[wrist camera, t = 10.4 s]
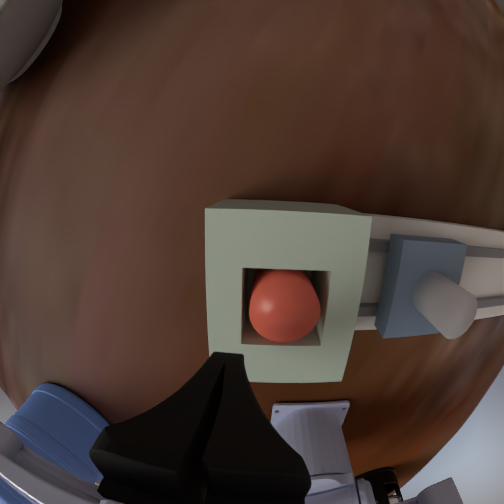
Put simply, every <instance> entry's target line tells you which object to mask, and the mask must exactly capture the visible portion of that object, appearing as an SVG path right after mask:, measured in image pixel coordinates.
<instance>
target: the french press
mask: <svg viewBox="0 0 504 504" xmlns="http://www.w3.org/2000/svg"><path fill="white" fill-rule="evenodd" d="M395 474H396V471H395V469H394V468H389V467H388V468H380V469H376V470H372V471H369V472H366V473H364V474H361V475H359V476H357V477H355V481H356V484H357V480H359V479H361V478H363V479H364V480H367V481H369V482H370V484H371V487H372V491H373V494H374V498H375V502H376V504H395V503H398V502H402V501H403V498H402V495H401V492H400V489H399V486H398V481H397V478H396V475H395ZM357 488H358V484H357ZM394 490H395V491H396V495H391V496H388V494H390V493H391V492H393V491H394Z"/></svg>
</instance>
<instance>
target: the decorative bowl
mask: <svg viewBox="0 0 504 504" xmlns="http://www.w3.org/2000/svg"><path fill="white" fill-rule="evenodd" d="M62 2H63V0H0V92H1V91H2V90H3V89H4V88H5V87H6V86H7V84H8V83H10V82H12V81H14V80H15V79H17V78H18V77H19V76H21V75H22V74H23V73H24V72H25V71H26V70H27V69H28V68H29V67H30V66H31V64H32V63H33V62H34V61H35V60H36V58H37V57H38V56H39V54H40V53H41V52H42V50H43V49H44V47H45V46H46V44H47V43H48V41H49V39H50V38H51V36H52V34H53V32H54V31H55V29H56V26H57V24H58V22H59V19H60V16H61V12H62V5H61V4H62Z"/></svg>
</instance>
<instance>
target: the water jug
mask: <svg viewBox="0 0 504 504" xmlns="http://www.w3.org/2000/svg"><path fill="white" fill-rule="evenodd" d="M4 425H5V426H7V427H8V428H9V429H11V430H12V431H13V432H14V433H15V434H16V435H17V436H18V437H19V438H20V439H21V441H22V442H23V444H24V445H25V446H27V447H28V448H30V449H31V450H33V451H34V452H36V453H37V454H39V455H40V456H42V457H44V458H45V459H47V460H49V461H50V462H52V463H54V464H55V465H57V466H59V467H61V468H63V469H64V470H66V471H68V472H70V473H72V474H74V475H76V476H78V477H80V478H82V479H84V480H86V481H89V482H91V483H93V484H94V483H95V481H102V479H103V475H102V474H101V473H100V471H99V470H98V469H97V468H96V466H95V465H94V463H93V462H92V460H91V458H90V456H89V451H90V449H91V448H92V446H93V444H94V442H95V441H96V439H97V437H98V436H99V434H100V433H101V432H102V430H103V429H104V428H105V427H106V426H110V424H109V423H108V422H107V421H106V420H105V419H104V418H103V417H102V416H101V415H100V414H99V413H98V412H97V411H96V410H95V409H93V408H92V407H91V406H90V405H89V404H87V403H86V402H85V401H83V400H82V399H81V398H79V397H78V396H76V395H75V394H73V393H72V392H70V391H68V390H66V389H64V388H62V387H60V386H57V385H54V384H50V383H44V384H41V385H39V386H38V387H37V388H36V389H35V390H34V391H33V392H32V395H31V396H30V397H29V398H28V399H27V400H26V402H25V403H24V404H23V405H22V406H21V407H20V408H19V409H18V411H17V412H16V413H15V414H14V415H13V416H11V418H9V419H8V420H7V422H6V423H5V424H4ZM0 504H33V503H32V502H30V501H29V500H27V499H26V498H25V497H24V496H22V495H21V494H20V493H18V492H17V491H16V490H15V489H13V488H12V487H11V486H10V485H9V484H7V483H6V482H5V481H4V480H3V479H2V478H1V477H0Z"/></svg>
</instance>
